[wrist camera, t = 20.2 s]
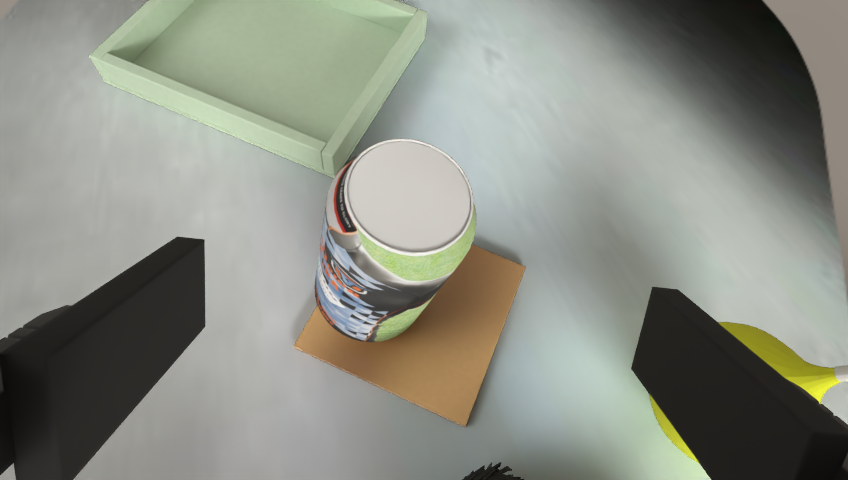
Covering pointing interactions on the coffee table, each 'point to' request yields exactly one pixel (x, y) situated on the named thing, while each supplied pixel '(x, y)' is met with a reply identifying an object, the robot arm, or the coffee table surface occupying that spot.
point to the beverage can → (391, 237)
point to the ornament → (779, 359)
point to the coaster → (432, 340)
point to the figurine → (491, 474)
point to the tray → (268, 68)
